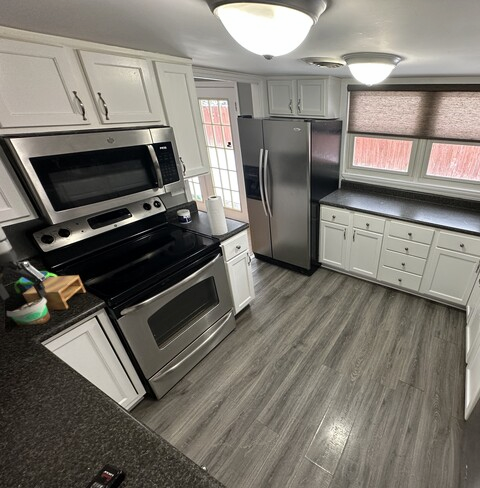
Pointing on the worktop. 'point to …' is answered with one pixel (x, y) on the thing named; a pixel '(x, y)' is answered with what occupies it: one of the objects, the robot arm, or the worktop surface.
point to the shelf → (57, 291)
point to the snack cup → (29, 284)
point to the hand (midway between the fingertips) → (24, 297)
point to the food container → (31, 313)
